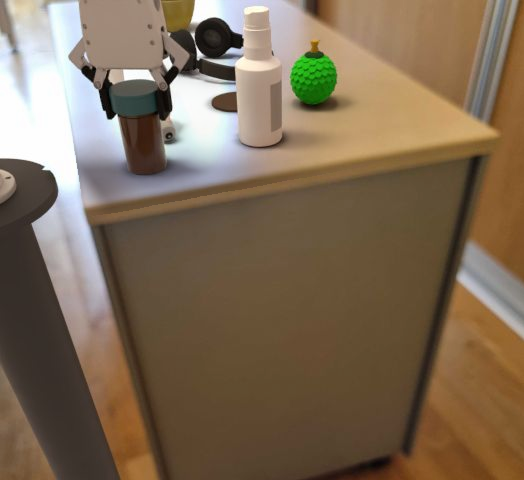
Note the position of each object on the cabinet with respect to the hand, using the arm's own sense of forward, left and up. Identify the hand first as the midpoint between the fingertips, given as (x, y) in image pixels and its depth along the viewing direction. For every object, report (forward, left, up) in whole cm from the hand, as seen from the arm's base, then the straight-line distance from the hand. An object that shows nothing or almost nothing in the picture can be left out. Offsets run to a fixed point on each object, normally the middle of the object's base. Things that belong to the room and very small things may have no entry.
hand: (138, 115), depth 79 cm
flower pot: (+34, +66, -8) cm, 75 cm away
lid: (0, 0, +3) cm, 3 cm away
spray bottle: (+19, -1, -8) cm, 20 cm away
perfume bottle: (+6, +30, -8) cm, 32 cm away
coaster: (+23, +15, -7) cm, 28 cm away
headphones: (+30, +33, -8) cm, 45 cm away
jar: (0, 0, -7) cm, 7 cm away
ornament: (+34, +7, -8) cm, 36 cm away
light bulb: (+6, +11, -8) cm, 14 cm away
